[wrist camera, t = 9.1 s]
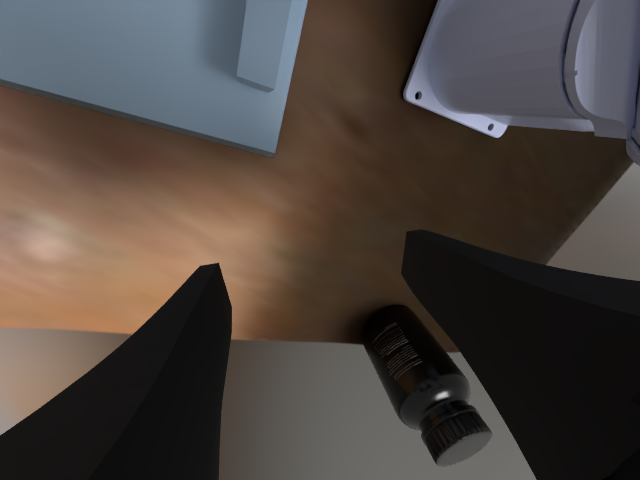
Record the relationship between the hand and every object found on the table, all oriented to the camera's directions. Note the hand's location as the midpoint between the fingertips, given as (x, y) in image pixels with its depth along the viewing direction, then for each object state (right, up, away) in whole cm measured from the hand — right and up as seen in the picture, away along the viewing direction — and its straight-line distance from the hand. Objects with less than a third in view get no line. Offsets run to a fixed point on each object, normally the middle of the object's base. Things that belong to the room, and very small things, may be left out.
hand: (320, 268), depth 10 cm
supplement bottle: (+8, -9, +19) cm, 23 cm away
